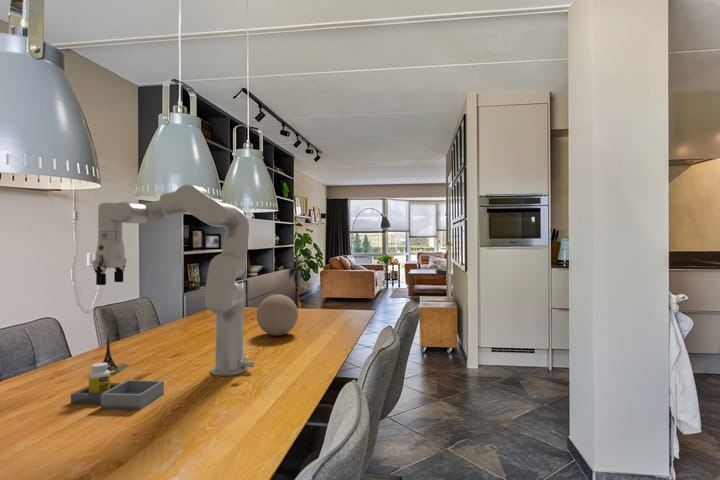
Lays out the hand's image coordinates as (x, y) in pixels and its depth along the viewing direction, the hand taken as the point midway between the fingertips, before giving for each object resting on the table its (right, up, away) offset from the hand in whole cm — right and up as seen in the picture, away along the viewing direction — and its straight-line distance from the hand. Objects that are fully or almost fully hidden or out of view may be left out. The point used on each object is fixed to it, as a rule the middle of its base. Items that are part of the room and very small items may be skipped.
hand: (110, 283), depth 150 cm
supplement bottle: (+14, -31, -28) cm, 44 cm away
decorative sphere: (+51, -31, +52) cm, 79 cm away
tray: (+25, -31, -30) cm, 50 cm away
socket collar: (+14, -31, -28) cm, 44 cm away
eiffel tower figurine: (+1, -32, -2) cm, 32 cm away
